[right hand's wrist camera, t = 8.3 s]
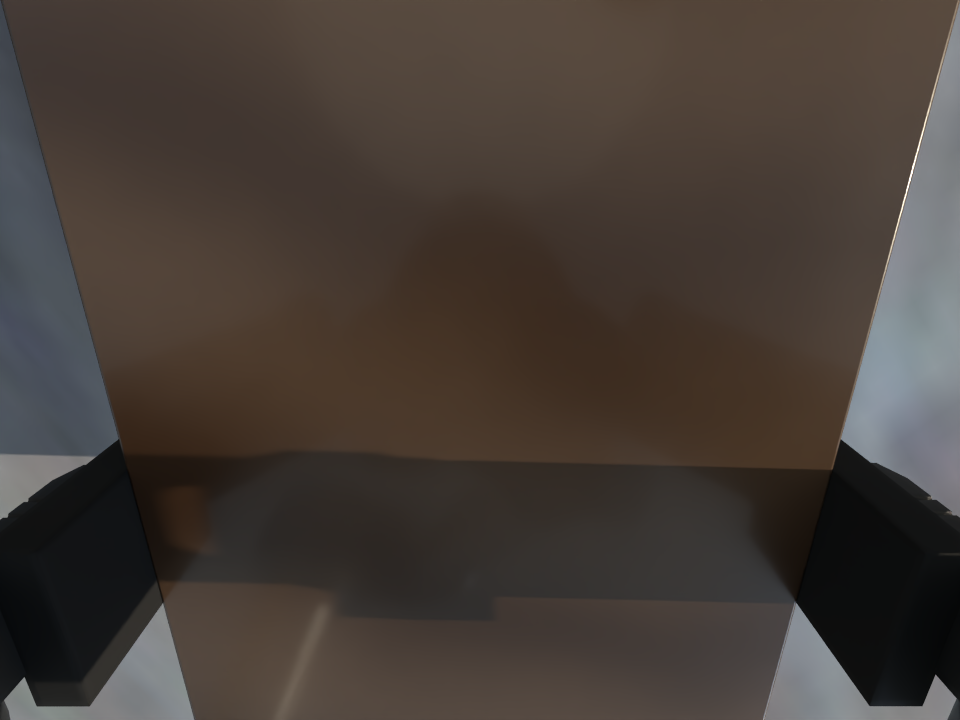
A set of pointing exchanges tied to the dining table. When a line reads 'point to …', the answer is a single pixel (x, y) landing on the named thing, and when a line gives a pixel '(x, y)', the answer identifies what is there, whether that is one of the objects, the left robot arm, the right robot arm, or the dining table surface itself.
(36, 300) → the dining table surface
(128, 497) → the right robot arm
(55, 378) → the dining table surface
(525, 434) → the cabinet
